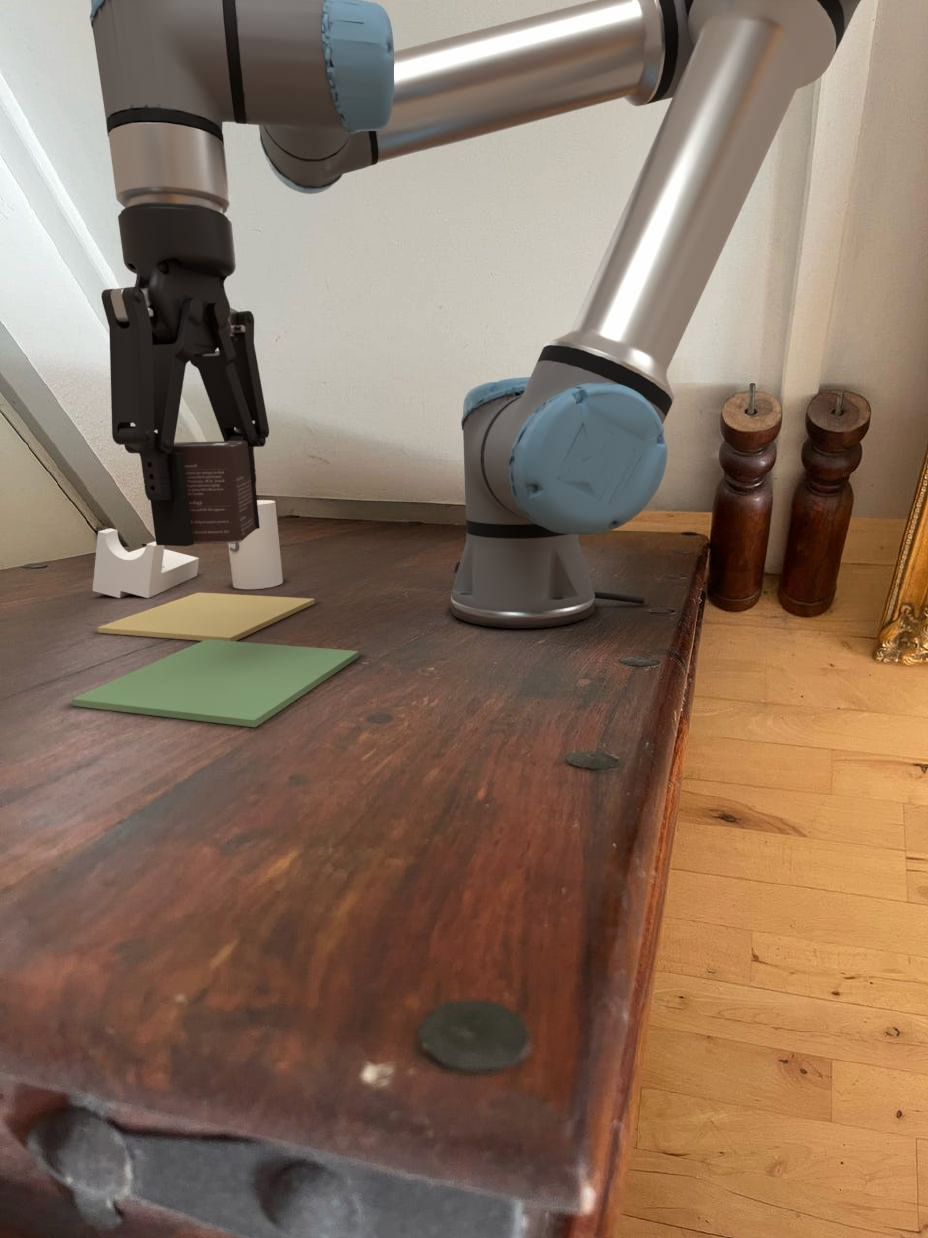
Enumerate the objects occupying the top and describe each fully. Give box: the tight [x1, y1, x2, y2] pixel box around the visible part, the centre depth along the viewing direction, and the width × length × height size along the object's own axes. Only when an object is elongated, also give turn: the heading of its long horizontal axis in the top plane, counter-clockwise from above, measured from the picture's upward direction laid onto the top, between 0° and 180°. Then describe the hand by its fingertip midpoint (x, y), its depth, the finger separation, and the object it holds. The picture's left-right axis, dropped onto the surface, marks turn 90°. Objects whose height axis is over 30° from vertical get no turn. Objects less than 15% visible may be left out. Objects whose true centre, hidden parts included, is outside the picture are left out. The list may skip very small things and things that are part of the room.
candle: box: [227, 492, 284, 590], centre depth 95 cm, size 6×6×15 cm
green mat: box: [71, 639, 360, 728], centre depth 61 cm, size 16×16×1 cm
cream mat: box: [97, 591, 316, 642], centre depth 81 cm, size 16×16×1 cm
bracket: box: [92, 528, 200, 599], centre depth 96 cm, size 13×7×8 cm, turn 174°
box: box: [170, 440, 256, 545], centre depth 57 cm, size 6×6×7 cm
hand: (211, 535), depth 58 cm, fingers closed on box, 8 cm apart
